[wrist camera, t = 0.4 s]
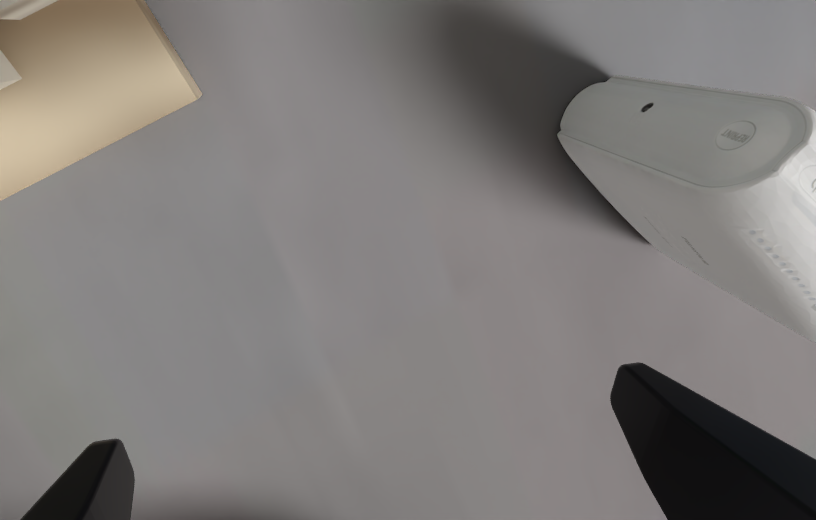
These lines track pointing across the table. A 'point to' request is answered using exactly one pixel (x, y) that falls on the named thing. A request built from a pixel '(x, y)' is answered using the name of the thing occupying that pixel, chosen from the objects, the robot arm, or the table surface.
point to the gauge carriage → (7, 72)
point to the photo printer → (709, 183)
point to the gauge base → (81, 82)
